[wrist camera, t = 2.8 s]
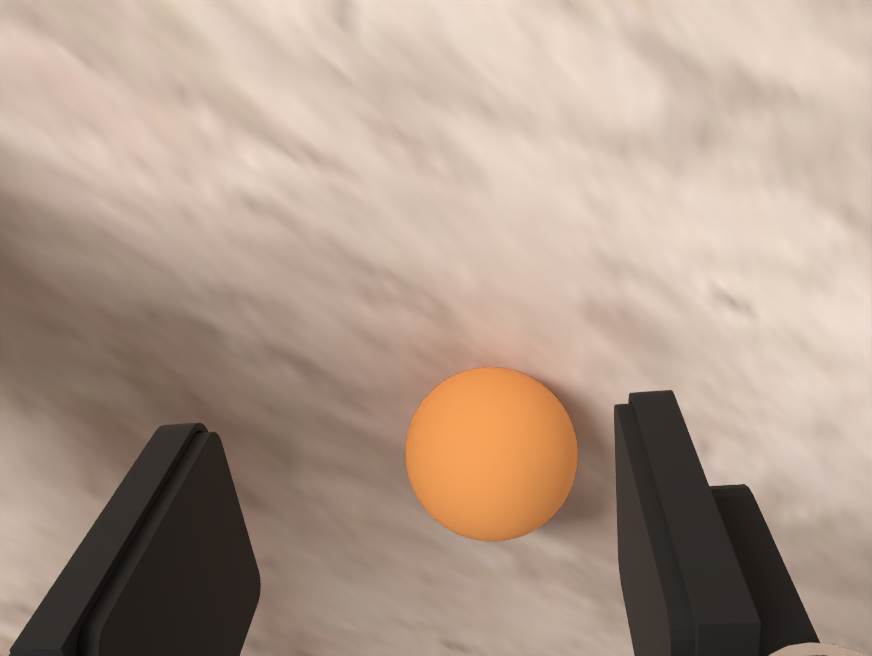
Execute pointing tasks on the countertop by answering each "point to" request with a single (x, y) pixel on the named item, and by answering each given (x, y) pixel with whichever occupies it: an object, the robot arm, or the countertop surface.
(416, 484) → the ball
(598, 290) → the countertop surface
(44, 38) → the countertop surface
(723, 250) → the countertop surface
